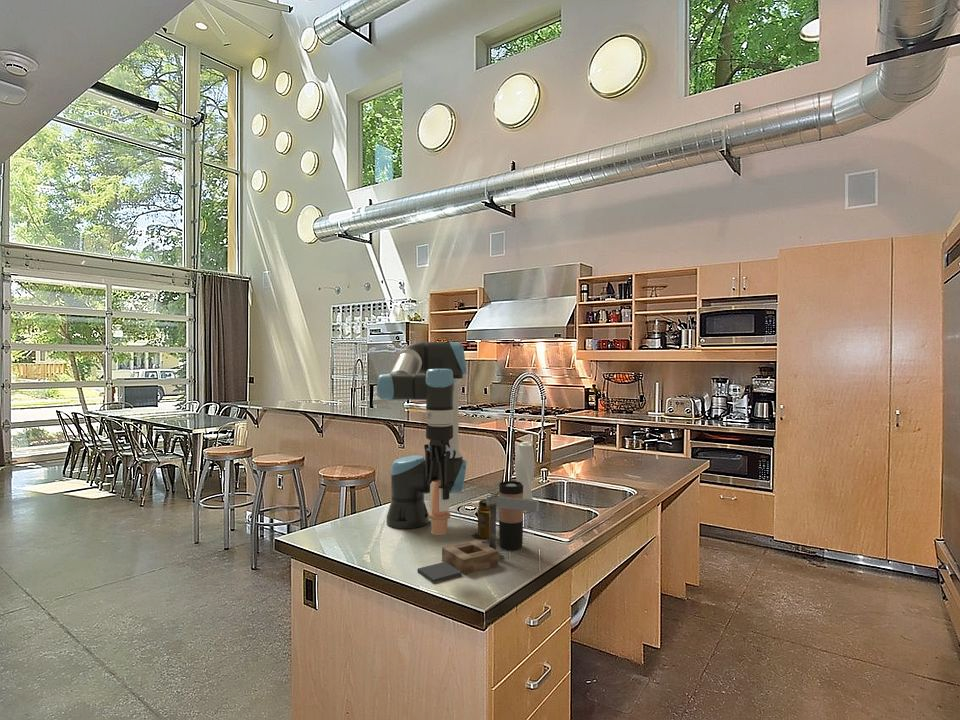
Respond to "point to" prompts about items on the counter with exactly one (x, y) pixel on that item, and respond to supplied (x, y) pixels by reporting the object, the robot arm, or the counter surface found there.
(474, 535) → the condiment
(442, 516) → the peg
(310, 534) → the counter surface
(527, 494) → the skyscraper
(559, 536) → the counter surface
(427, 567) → the mat
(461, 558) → the socket block
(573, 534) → the counter surface
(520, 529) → the travel mug
